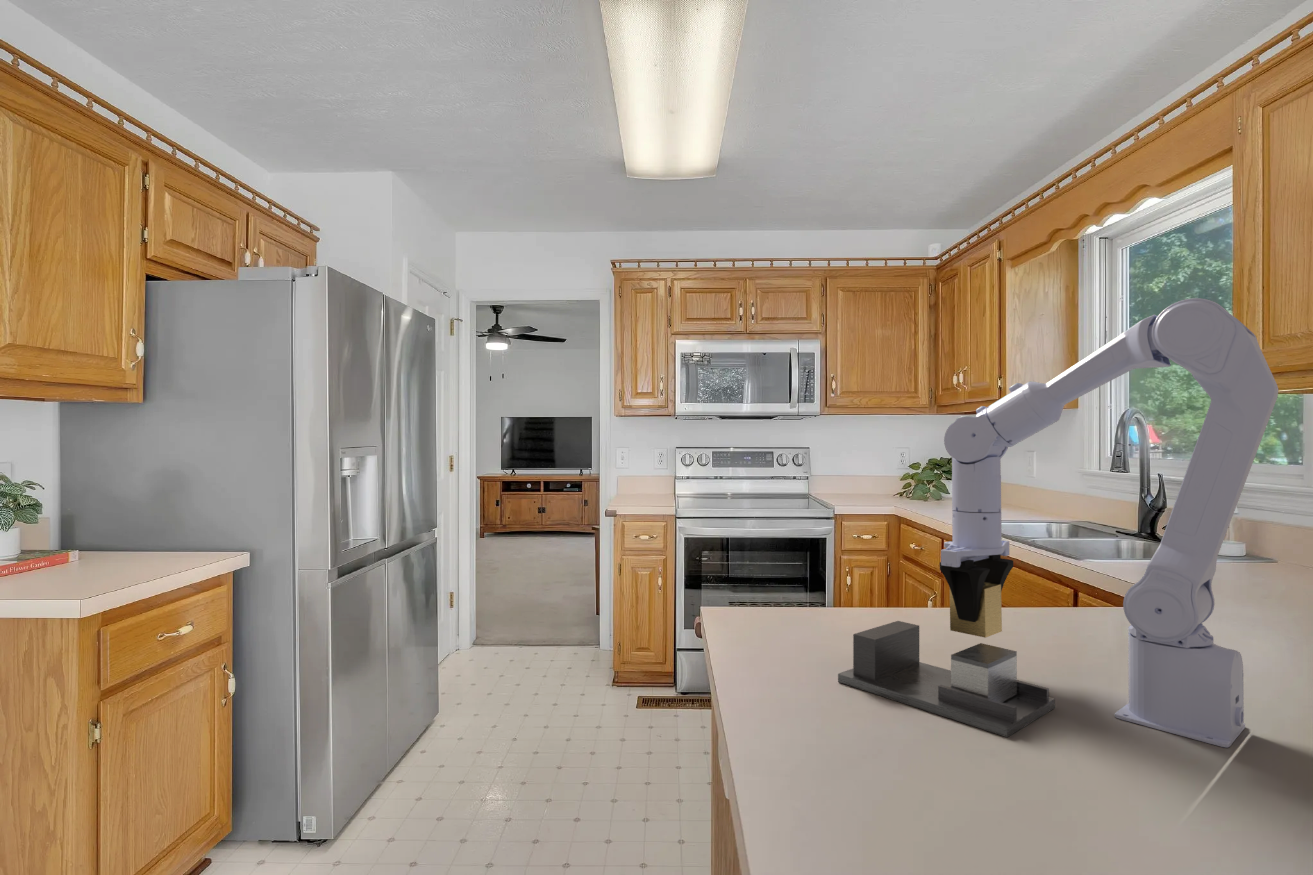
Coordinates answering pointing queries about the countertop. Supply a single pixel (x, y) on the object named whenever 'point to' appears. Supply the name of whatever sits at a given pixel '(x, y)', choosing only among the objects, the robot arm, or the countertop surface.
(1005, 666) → the block
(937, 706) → the press bed
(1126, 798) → the countertop surface
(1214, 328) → the robot arm
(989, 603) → the housing
